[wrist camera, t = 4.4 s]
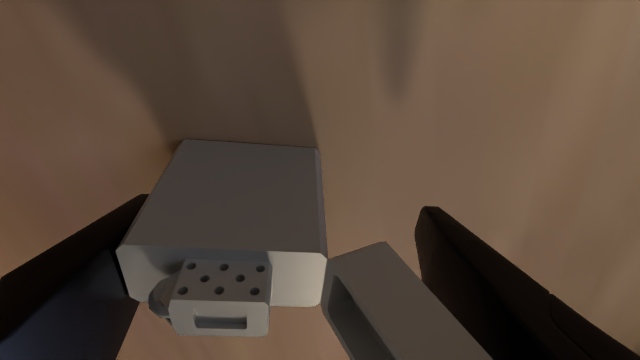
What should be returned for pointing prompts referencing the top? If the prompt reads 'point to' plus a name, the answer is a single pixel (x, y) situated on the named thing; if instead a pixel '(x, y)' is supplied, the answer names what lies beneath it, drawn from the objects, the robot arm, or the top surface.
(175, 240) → the lighter
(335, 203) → the top surface
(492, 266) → the robot arm
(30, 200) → the top surface
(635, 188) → the top surface
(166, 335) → the top surface
